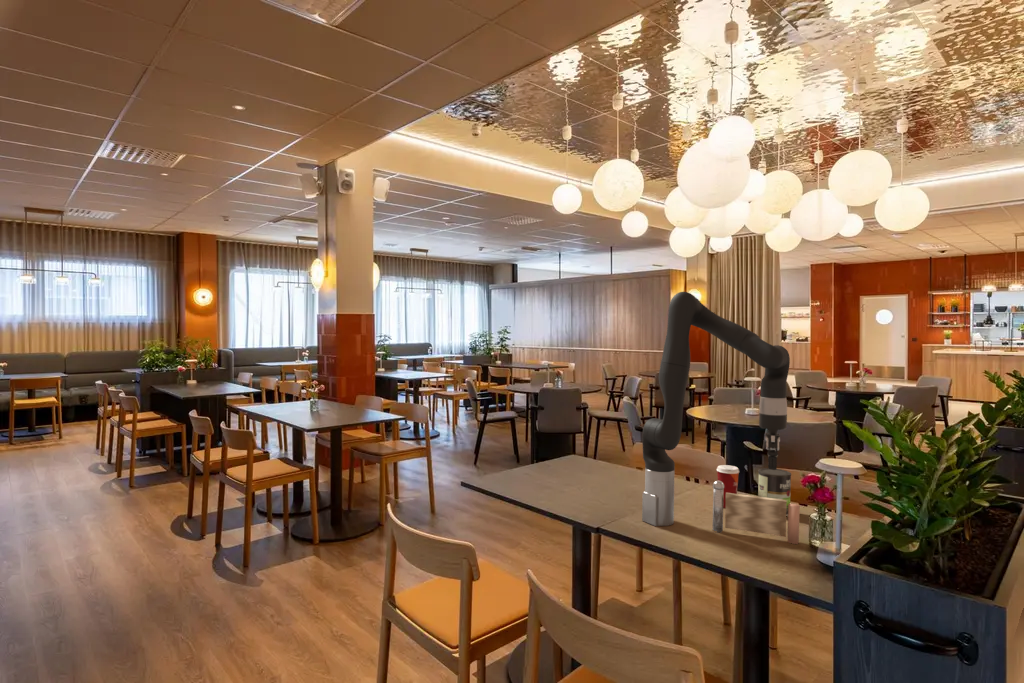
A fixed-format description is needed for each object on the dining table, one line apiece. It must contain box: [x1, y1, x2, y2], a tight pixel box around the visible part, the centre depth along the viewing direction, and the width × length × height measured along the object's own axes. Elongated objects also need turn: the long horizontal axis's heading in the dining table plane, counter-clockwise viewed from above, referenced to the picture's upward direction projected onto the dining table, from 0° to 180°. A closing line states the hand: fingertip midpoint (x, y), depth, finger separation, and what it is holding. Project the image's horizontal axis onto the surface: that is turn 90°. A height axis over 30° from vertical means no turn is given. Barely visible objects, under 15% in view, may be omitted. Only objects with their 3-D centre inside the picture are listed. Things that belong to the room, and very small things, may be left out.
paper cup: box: [716, 464, 740, 509], centre depth 198 cm, size 8×8×14 cm
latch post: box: [787, 503, 801, 545], centre depth 165 cm, size 3×3×11 cm
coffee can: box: [757, 467, 792, 517], centre depth 192 cm, size 10×10×14 cm
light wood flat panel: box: [724, 493, 787, 538], centre depth 169 cm, size 17×2×10 cm, turn 65°
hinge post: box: [712, 479, 724, 533], centre depth 174 cm, size 3×3×16 cm
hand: (772, 466), depth 168 cm, fingers open, 8 cm apart
